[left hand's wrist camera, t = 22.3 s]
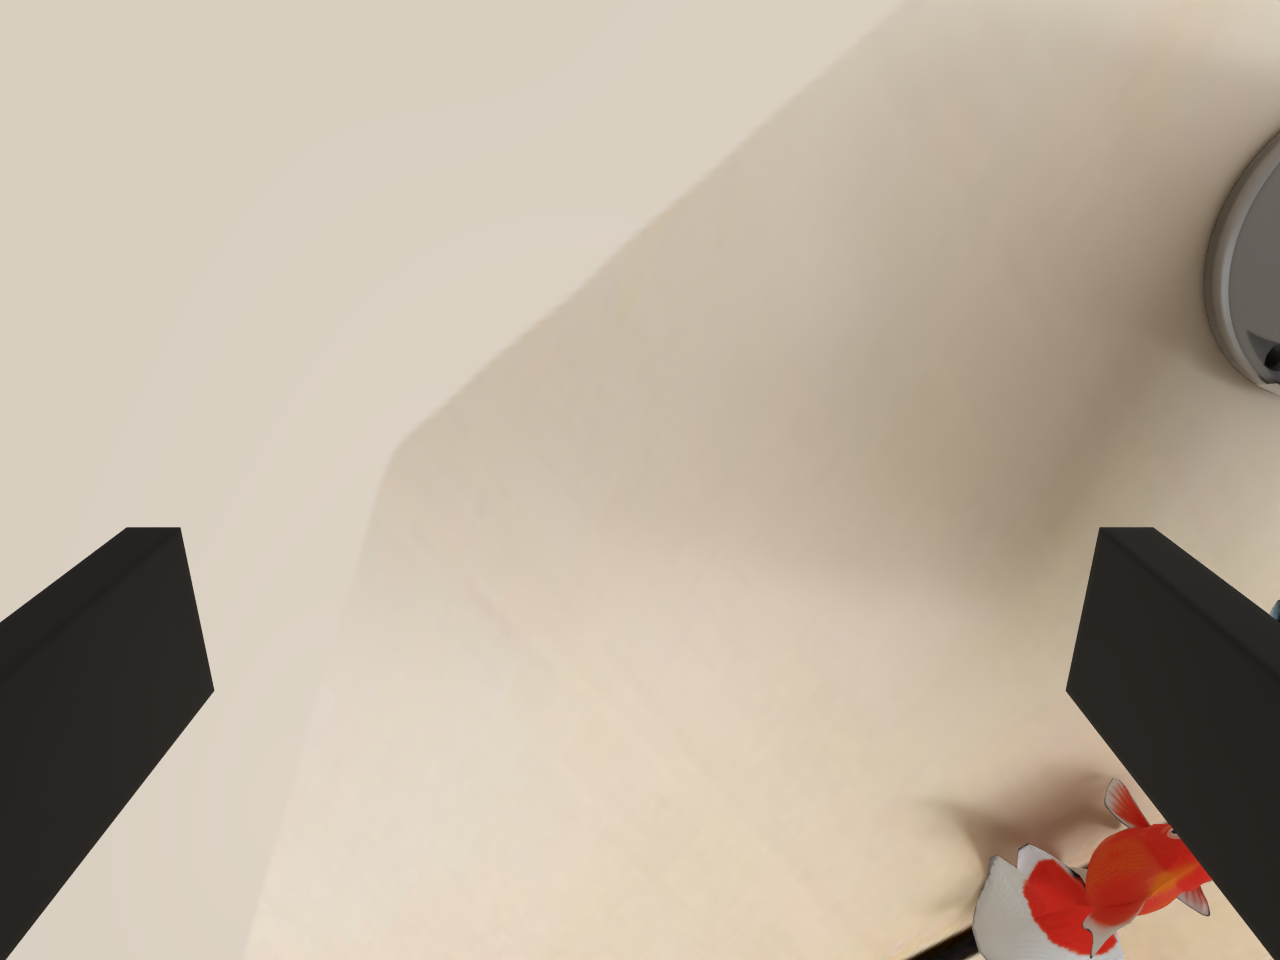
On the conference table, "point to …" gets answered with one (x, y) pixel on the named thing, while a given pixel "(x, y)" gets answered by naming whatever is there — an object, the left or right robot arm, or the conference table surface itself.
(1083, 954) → the fish
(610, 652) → the conference table surface
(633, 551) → the conference table surface
